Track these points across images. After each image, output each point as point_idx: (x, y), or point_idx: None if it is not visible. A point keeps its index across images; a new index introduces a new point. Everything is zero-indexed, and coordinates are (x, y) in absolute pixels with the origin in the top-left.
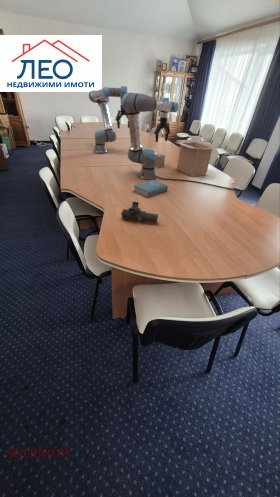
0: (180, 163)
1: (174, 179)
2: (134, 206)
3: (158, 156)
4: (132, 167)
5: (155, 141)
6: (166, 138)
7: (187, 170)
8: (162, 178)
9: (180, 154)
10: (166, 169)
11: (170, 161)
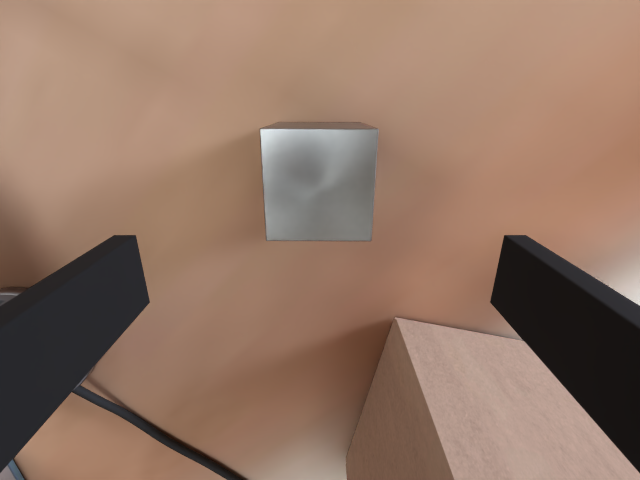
0: (395, 387)
1: (183, 454)
2: None
3: (265, 216)
4: (7, 65)
5: (110, 241)
6: (531, 321)
7: (362, 441)
8: (117, 414)
9: (424, 442)
10: (305, 280)
11: (576, 102)
